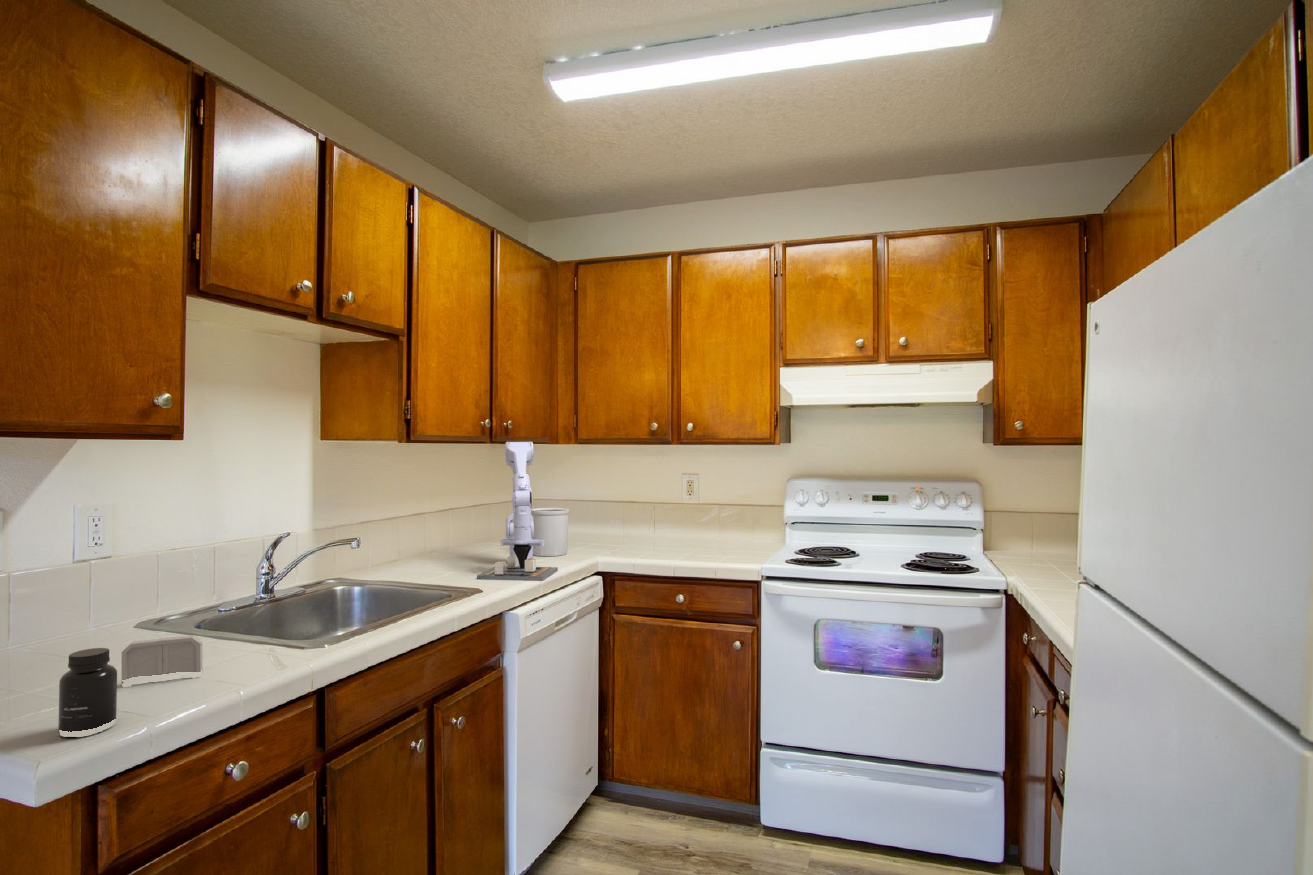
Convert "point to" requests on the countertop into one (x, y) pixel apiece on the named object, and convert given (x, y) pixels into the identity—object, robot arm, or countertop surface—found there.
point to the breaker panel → (516, 571)
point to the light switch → (162, 656)
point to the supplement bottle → (87, 691)
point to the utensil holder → (550, 531)
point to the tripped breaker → (530, 564)
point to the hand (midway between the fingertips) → (522, 567)
